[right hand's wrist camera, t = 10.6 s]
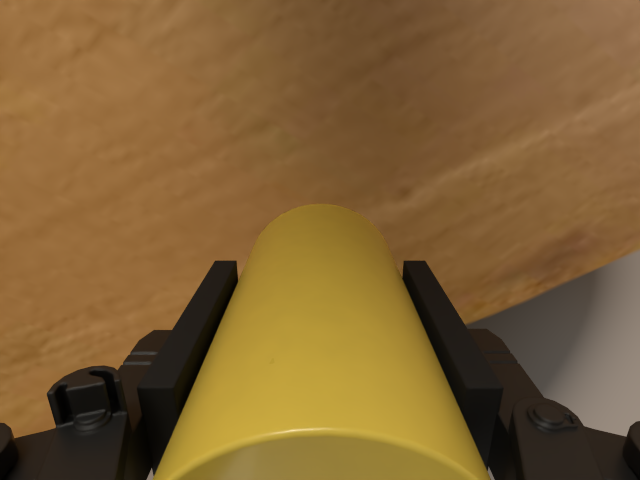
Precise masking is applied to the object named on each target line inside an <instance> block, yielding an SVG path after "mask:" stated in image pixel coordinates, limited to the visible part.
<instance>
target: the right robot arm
mask: <svg viewBox="0 0 640 480" xmlns="http://www.w3.org/2000/svg"><path fill="white" fill-rule="evenodd" d="M402 279H403V281H404V284H405V286H406V288H407V290H408V293H409V295H410V297H411V300H412V302H413V304H414V306H415V309H416V311H417V313H418V315H419V318H420V320H421V322H422V324H423V327H424V329H425V331H426V334H427V336H428V338H429V340H430V343H431V345H432V347H433V349H434V352H435V354H436V356H437V358H438V361H439V363H440V365H441V368H442V370H443V372H444V374H445V377H446V379H447V381H448V383H449V386H450V388H451V390H452V392H453V395H454V397H455V399H456V402H457V404H458V406H459V408H460V411H461V413H462V415H463V417H464V420H465V422H466V424H467V426H468V429H469V431H470V433H471V436H472V438H473V440H474V442H475V445H476V447H477V449H478V451H479V454H480V456H481V458H482V460H483V463H484V465H485V467H486V470H487V471H488V466H489V468H490V470H491V472H492V474H493V477H494V479H495V480H640V421H638V422H635V423H634V424H633V425H631V426H630V428H629V431H628V434H627V437H625V436H621V435H616V434H612V433H608V432H604V431H599V430H595V429H591V428H588V427H585V426H583V424H582V423H581V421H580V420H579V418H578V417H577V416H576V415H575V414H574V413H573V412H572V411H570V410H569V409H568V408H567V407H565V406H563V405H561V404H559V403H557V402H555V401H553V400H549V399H546V398H544V397H543V396H542V394H541V393H540V392H539V390H538V389H537V387H536V386H535V385H534V383H533V382H532V381H531V379H530V378H529V376H528V375H527V374H526V372H525V371H524V370H523V368H522V367H521V366H520V364H518V363H517V360H516V359H515V357H514V356H513V355H512V354H510V350H509V349H508V348H507V346H506V345H505V344H504V342H503V341H502V340H501V339H500V338H499V337H497V336H496V335H495V334H493V333H492V332H490V331H489V330H487V329H467V328H466V326H465V324H464V323H463V321H462V320H461V318H460V316H459V315H458V313H457V311H456V310H455V308H454V307H453V305H452V303H451V302H450V300H449V299H448V297H447V295H446V294H445V292H444V291H443V289H442V287H441V286H440V284H439V282H438V281H437V279H436V278H435V276H434V274H433V273H432V271H431V270H430V268H429V266H428V265H427V263H426V262H425V261H404V265H403V278H402ZM237 283H238V274H237V262H236V261H215V262H214V264H213V265H212V267H211V268H210V270H209V272H208V273H207V275H206V276H205V278H204V280H203V281H202V283H201V285H200V286H199V288H198V289H197V291H196V293H195V294H194V296H193V297H192V299H191V301H190V302H189V304H188V305H187V307H186V309H185V310H184V312H183V314H182V315H181V317H180V318H179V320H178V322H177V323H176V325H175V326H174V328H173V330H153V331H152V332H151V333H149V334H148V335H146V336H145V337H143V338H142V339H141V340H139V341H138V343H137V344H136V346H135V347H134V348H133V350H132V351H131V354H130V355H128V357H127V358H126V359H125V361H124V362H123V365H121V366H120V368H119V369H118V370H116V369H115V368H113V367H108V366H91V367H88V368H84V369H80V370H77V371H75V372H73V373H71V374H69V375H66V376H64V377H63V378H62V379H60V380H59V381H58V382H56V383H55V384H54V385H53V386H52V387H51V389H50V390H49V391H48V393H47V397H48V400H49V404H50V407H51V410H52V414H53V417H54V421H55V424H56V428H54V429H51V430H48V431H44V432H40V433H35V434H31V435H27V436H22V437H18V438H14V436H13V433H12V430H11V428H10V427H9V426H7V425H6V424H5V423H0V480H146V479H147V477H148V475H149V473H150V470H151V468H152V470H153V475H155V473H156V471H157V468H158V466H159V464H160V461H161V459H162V457H163V454H164V452H165V450H166V448H167V445H168V443H169V441H170V438H171V436H172V434H173V431H174V429H175V427H176V424H177V422H178V420H179V417H180V415H181V413H182V410H183V408H184V406H185V404H186V401H187V399H188V397H189V394H190V392H191V390H192V387H193V385H194V383H195V380H196V378H197V376H198V373H199V371H200V369H201V366H202V364H203V362H204V360H205V357H206V355H207V353H208V350H209V348H210V346H211V343H212V341H213V339H214V336H215V334H216V332H217V329H218V327H219V325H220V322H221V320H222V318H223V316H224V313H225V311H226V309H227V306H228V304H229V302H230V299H231V297H232V295H233V292H234V290H235V288H236V285H237Z"/></svg>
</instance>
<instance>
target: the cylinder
mask: <svg viewBox="0 0 640 480" xmlns="http://www.w3.org/2000/svg"><path fill="white" fill-rule="evenodd" d="M153 480H491V479H490V476H489V474H488V472H487V470H486V467H485V465H484V463H483V460H482V458H481V456H480V454H479V451H478V449H477V447H476V445H475V442H474V440H473V438H472V436H471V433H470V431H469V429H468V426H467V424H466V422H465V420H464V417H463V415H462V413H461V411H460V408H459V406H458V404H457V402H456V399H455V397H454V395H453V392H452V390H451V388H450V386H449V383H448V381H447V379H446V377H445V374H444V372H443V370H442V368H441V365H440V363H439V361H438V358H437V356H436V354H435V352H434V349H433V347H432V345H431V343H430V340H429V338H428V336H427V334H426V331H425V329H424V327H423V324H422V322H421V320H420V318H419V315H418V313H417V311H416V309H415V306H414V304H413V302H412V300H411V297H410V295H409V293H408V290H407V288H406V286H405V284H404V281H403V279H402V277H401V275H400V272H399V270H398V268H397V266H396V263H395V261H394V259H393V256H392V254H391V252H390V250H389V247H388V245H387V243H386V241H385V239H384V237H383V236H382V234H381V233H380V232H379V230H378V229H377V228H376V227H375V226H374V225H373V224H372V223H371V222H370V221H369V220H367V219H366V218H365V217H363V216H362V215H360V214H358V213H356V212H354V211H352V210H350V209H347V208H344V207H341V206H336V205H331V204H311V205H305V206H301V207H298V208H294V209H292V210H289V211H287V212H285V213H283V214H282V215H280V216H278V217H277V218H275V219H274V220H273V221H272V222H271V223H269V224H268V225H267V227H266V228H265V229H264V230H263V231H262V232H261V234H260V235H259V237H258V238H257V240H256V242H255V244H254V246H253V248H252V251H251V253H250V255H249V258H248V260H247V262H246V265H245V267H244V269H243V272H242V274H241V276H240V278H239V281H238V283H237V285H236V288H235V290H234V292H233V295H232V297H231V299H230V302H229V304H228V306H227V309H226V311H225V313H224V316H223V318H222V320H221V322H220V325H219V327H218V329H217V332H216V334H215V336H214V339H213V341H212V343H211V346H210V348H209V350H208V353H207V355H206V357H205V360H204V362H203V364H202V366H201V369H200V371H199V373H198V376H197V378H196V380H195V383H194V385H193V387H192V390H191V392H190V394H189V397H188V399H187V401H186V404H185V406H184V408H183V410H182V413H181V415H180V417H179V420H178V422H177V424H176V427H175V429H174V431H173V434H172V436H171V438H170V441H169V443H168V445H167V448H166V450H165V452H164V454H163V457H162V459H161V461H160V464H159V466H158V468H157V471H156V473H155V475H154V478H153Z"/></svg>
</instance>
